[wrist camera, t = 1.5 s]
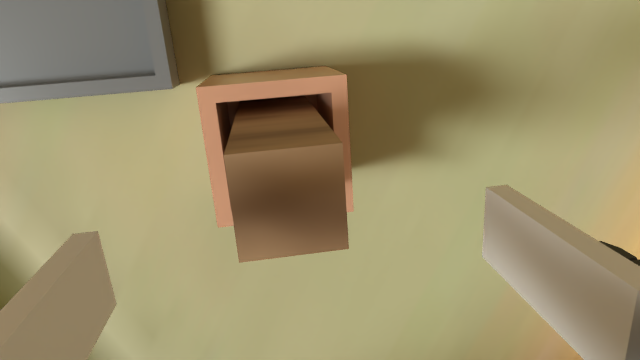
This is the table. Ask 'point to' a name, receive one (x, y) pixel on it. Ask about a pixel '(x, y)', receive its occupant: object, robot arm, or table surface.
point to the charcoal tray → (84, 48)
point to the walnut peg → (285, 180)
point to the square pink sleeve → (229, 89)
